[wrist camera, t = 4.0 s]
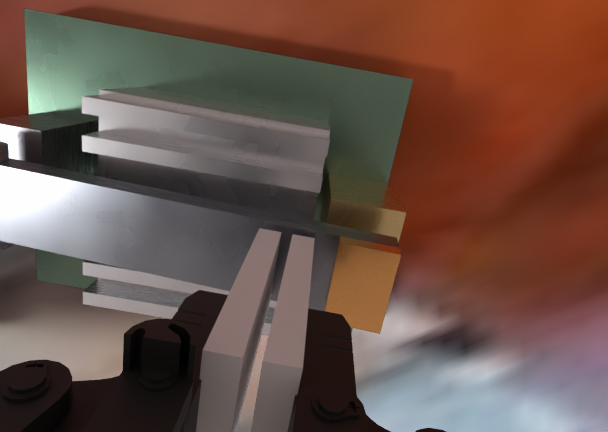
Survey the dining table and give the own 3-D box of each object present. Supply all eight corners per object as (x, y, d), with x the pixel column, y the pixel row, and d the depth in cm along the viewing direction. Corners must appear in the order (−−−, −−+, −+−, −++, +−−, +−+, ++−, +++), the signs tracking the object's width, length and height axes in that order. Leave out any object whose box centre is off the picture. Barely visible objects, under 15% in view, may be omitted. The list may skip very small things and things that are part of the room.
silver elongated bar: (-12, 232, 17) (-55, 249, 15) (-20, 136, 16) (-69, 143, 14) (374, 316, 16) (376, 345, 14) (399, 221, 15) (405, 240, 13)
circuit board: (58, 265, 25) (-41, 335, 18) (51, 14, 20) (-83, -17, 14) (348, 314, 25) (359, 402, 18) (405, 78, 21) (446, 80, 14)
